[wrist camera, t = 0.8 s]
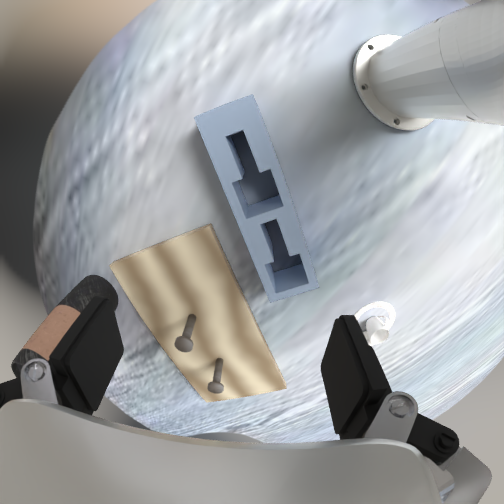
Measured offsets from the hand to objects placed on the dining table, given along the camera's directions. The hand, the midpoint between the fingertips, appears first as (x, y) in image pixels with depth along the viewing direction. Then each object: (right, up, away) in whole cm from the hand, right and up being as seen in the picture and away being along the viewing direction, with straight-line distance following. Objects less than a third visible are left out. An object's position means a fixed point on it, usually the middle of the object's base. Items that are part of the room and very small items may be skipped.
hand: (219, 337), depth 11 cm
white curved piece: (+17, -8, +30) cm, 36 cm away
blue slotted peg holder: (+2, +10, +21) cm, 24 cm away
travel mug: (-23, -3, +28) cm, 37 cm away
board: (-6, -9, +30) cm, 32 cm away
